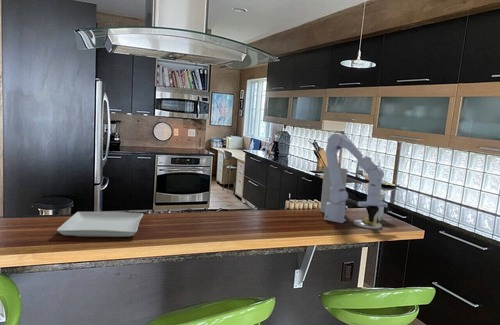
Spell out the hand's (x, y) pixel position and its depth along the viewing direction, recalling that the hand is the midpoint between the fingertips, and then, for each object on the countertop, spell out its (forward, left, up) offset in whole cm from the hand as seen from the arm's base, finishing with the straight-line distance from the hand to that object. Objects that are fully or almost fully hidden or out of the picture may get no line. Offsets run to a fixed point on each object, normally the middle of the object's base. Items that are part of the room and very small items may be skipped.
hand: (370, 221), depth 168 cm
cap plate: (-2, +5, -3) cm, 6 cm away
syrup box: (-1, +23, -4) cm, 23 cm away
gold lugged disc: (-1, +4, -2) cm, 4 cm away
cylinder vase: (-24, +19, -4) cm, 31 cm away
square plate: (-87, -81, -4) cm, 119 cm away
